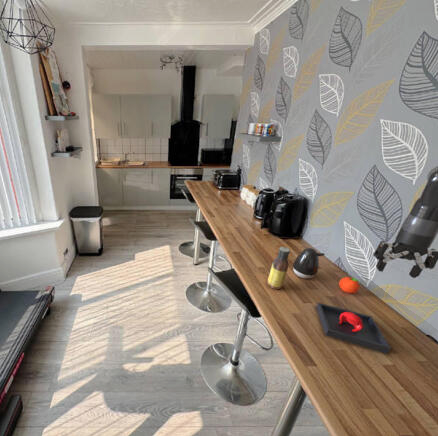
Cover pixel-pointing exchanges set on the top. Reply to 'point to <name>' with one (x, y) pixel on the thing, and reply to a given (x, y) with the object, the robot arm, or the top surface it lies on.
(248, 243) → the top surface
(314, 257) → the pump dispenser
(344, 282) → the clementine
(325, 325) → the tray
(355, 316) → the red animal figurine
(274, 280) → the sauce bottle
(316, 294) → the top surface
